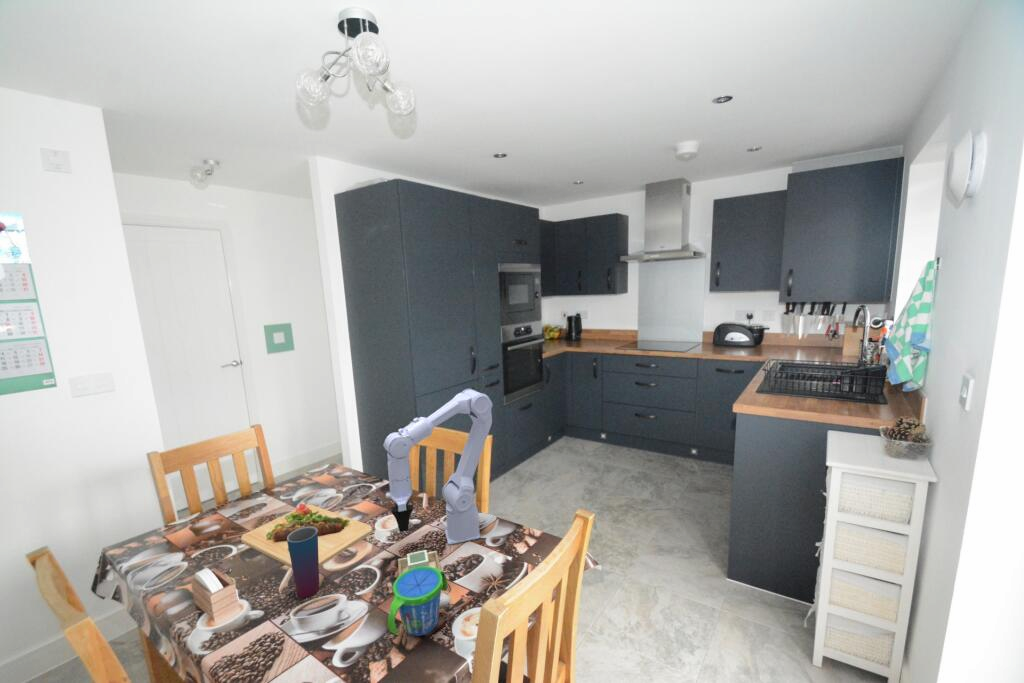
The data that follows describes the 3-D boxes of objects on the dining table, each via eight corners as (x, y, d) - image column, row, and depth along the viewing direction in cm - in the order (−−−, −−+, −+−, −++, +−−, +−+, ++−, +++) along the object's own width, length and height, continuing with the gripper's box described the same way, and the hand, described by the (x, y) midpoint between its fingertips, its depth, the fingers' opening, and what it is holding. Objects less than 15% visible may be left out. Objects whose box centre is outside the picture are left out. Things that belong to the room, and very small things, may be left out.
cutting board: (237, 542, 127) (235, 519, 127) (308, 507, 147) (306, 487, 147) (306, 577, 110) (303, 550, 109) (376, 532, 130) (374, 509, 129)
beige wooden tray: (437, 560, 113) (436, 550, 112) (442, 585, 103) (441, 574, 103) (398, 569, 110) (397, 559, 110) (400, 595, 100) (399, 584, 100)
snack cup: (405, 662, 82) (401, 614, 81) (376, 635, 88) (372, 591, 87) (463, 613, 93) (461, 571, 92) (433, 593, 100) (431, 554, 99)
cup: (311, 601, 99) (304, 543, 98) (286, 598, 101) (280, 541, 99) (329, 582, 106) (323, 527, 104) (305, 580, 107) (300, 525, 106)
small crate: (427, 567, 109) (426, 549, 109) (429, 579, 105) (428, 560, 104) (408, 572, 108) (406, 554, 107) (409, 584, 103) (408, 565, 103)
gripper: (384, 468, 119) (388, 513, 121) (384, 490, 106) (388, 540, 107) (409, 465, 121) (412, 508, 123) (412, 485, 108) (416, 535, 109)
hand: (403, 523), depth 115 cm, fingers open, 7 cm apart
